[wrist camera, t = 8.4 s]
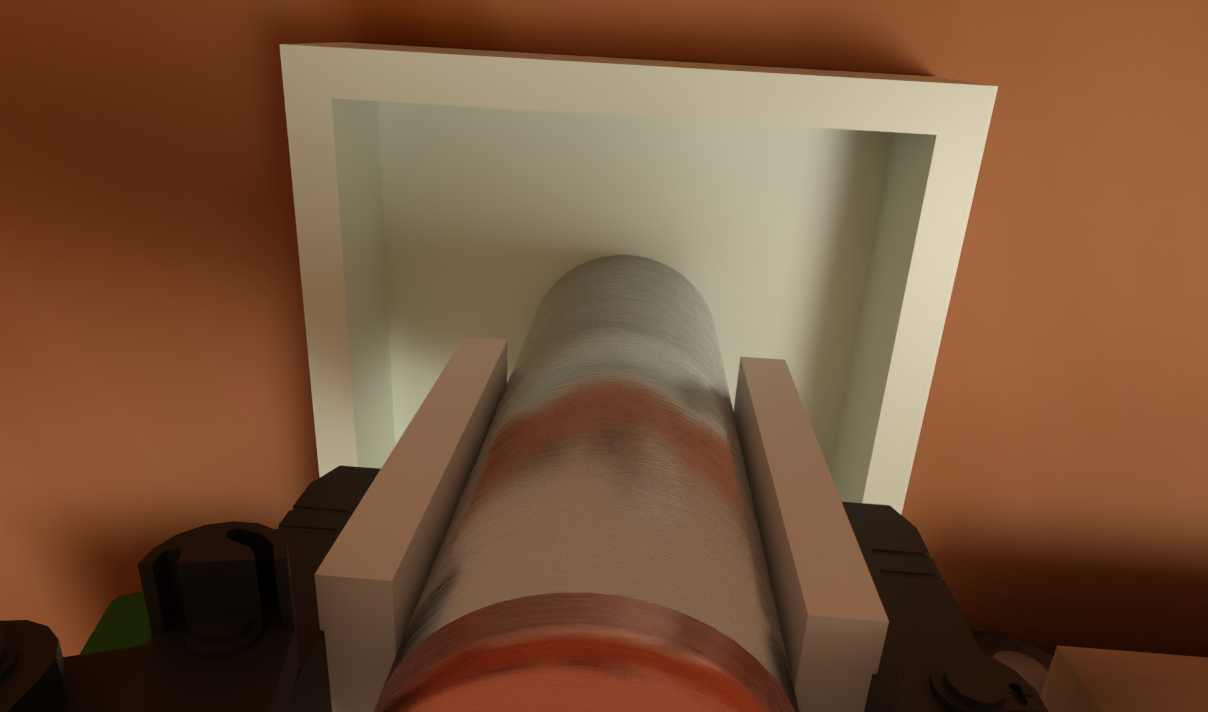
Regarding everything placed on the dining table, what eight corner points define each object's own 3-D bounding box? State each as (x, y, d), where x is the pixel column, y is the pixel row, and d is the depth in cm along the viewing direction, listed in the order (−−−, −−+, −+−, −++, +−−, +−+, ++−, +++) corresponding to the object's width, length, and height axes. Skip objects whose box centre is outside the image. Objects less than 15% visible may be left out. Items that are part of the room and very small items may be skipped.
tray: (375, 535, 20) (331, 615, 17) (344, 41, 16) (279, 44, 13) (838, 570, 20) (868, 657, 17) (936, 76, 16) (998, 86, 13)
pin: (531, 424, 18) (346, 1039, 7) (529, 251, 17) (289, 689, 6) (709, 431, 18) (803, 1074, 7) (723, 258, 17) (872, 724, 5)
